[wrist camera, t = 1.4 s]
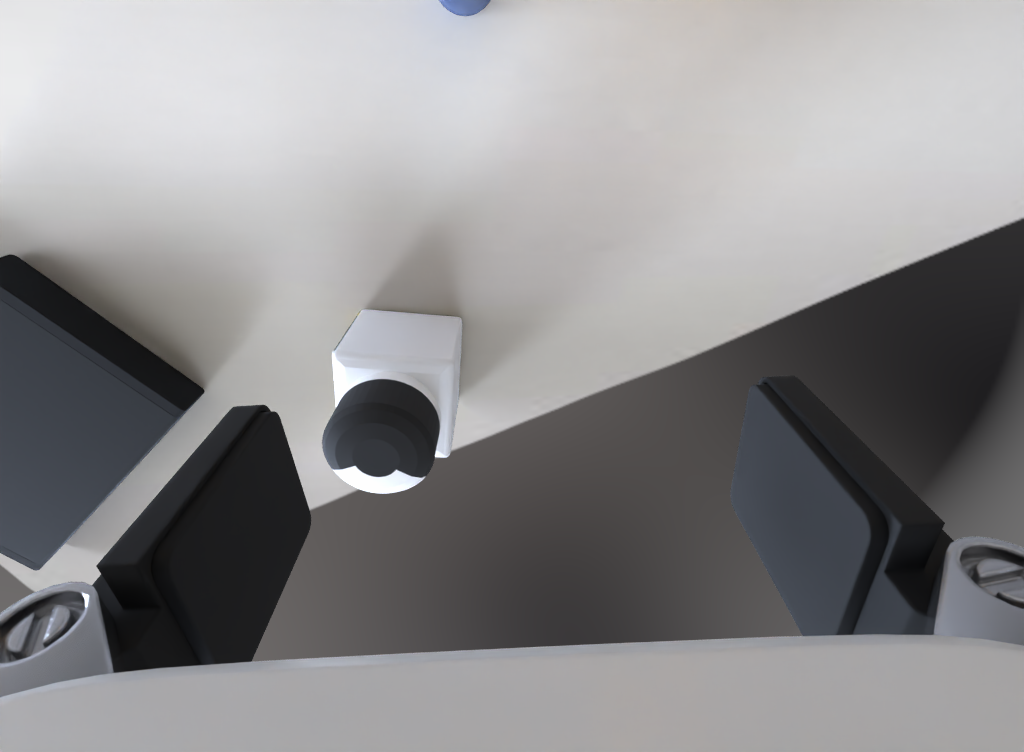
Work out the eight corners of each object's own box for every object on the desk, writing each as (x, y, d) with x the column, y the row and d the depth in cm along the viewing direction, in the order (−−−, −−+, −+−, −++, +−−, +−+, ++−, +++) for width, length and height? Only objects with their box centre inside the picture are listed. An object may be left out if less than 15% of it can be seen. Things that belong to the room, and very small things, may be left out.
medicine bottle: (360, 307, 36) (300, 395, 26) (463, 315, 37) (446, 406, 26) (364, 395, 40) (313, 505, 29) (458, 402, 40) (441, 513, 30)
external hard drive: (205, 390, 40) (184, 412, 37) (63, 544, 47) (37, 572, 44) (13, 253, 34) (-28, 267, 32) (-114, 450, 42) (-155, 474, 39)
